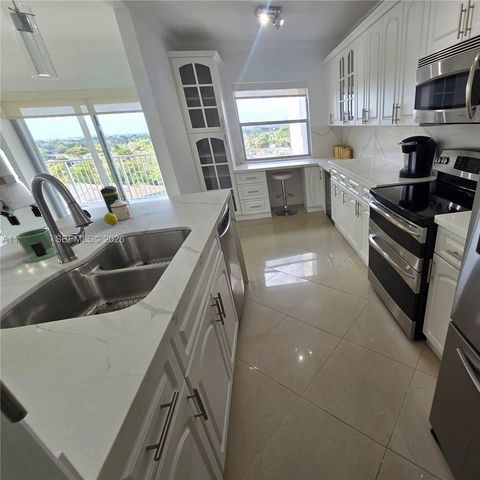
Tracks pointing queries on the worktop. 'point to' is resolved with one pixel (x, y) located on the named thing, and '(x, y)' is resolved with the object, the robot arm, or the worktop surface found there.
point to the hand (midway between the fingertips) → (28, 220)
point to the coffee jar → (110, 196)
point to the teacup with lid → (121, 210)
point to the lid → (39, 252)
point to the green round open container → (35, 239)
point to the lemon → (110, 219)
